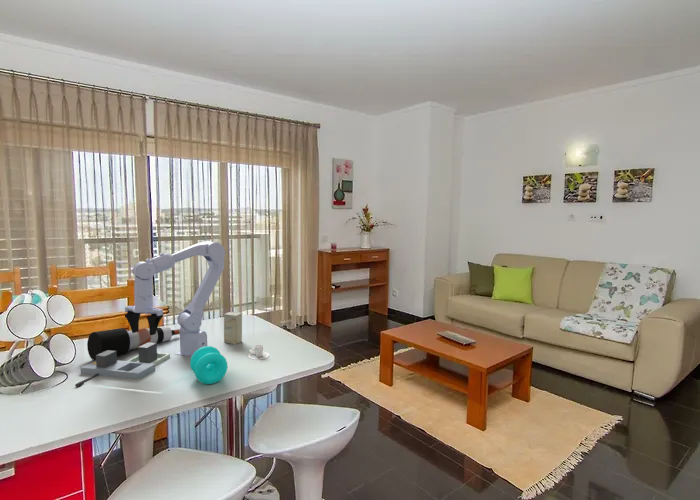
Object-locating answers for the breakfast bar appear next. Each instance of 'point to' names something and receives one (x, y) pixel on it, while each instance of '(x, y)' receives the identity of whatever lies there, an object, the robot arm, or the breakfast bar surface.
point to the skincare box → (232, 327)
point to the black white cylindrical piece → (125, 340)
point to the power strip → (115, 367)
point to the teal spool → (208, 365)
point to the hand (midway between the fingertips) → (144, 333)
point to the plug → (147, 352)
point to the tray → (160, 358)
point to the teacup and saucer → (257, 352)
